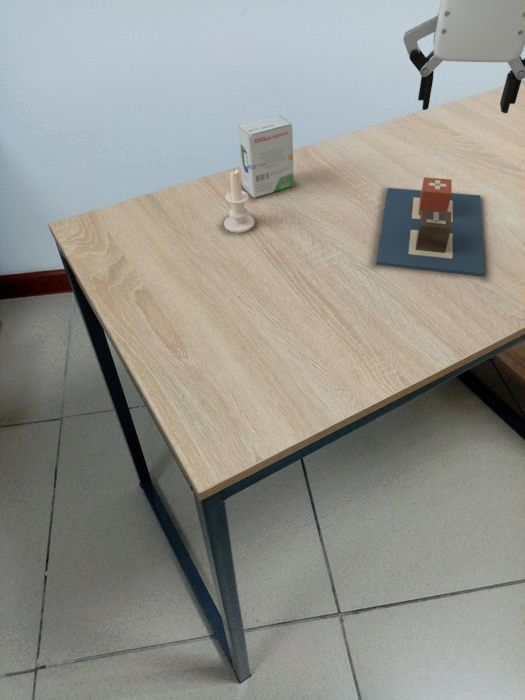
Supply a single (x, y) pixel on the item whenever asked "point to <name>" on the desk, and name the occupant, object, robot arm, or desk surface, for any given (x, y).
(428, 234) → the wooden letter block
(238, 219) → the candle
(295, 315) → the desk surface
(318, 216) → the desk surface
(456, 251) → the mat
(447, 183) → the rust brown block
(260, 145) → the ink box
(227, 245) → the desk surface
